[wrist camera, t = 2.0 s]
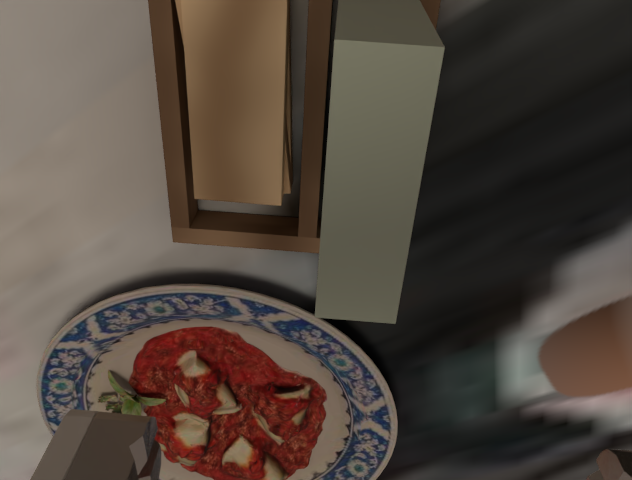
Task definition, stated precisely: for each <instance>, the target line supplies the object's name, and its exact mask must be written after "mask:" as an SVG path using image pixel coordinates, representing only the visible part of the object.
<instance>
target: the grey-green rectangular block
mask: <svg viewBox="0 0 632 480" xmlns="http://www.w3.org/2000/svg"><path fill="white" fill-rule="evenodd" d="M444 49H445V47H444V45H443V43H442V41H441V39H440V37H439V35H438V34H437V32H436V30H435V28H434V26H433V24H432V22H431V21H430V19H429V17H428V15H427V13H426V11H425V9H424V7H423V6H422V4H421V2H420V0H339V1H338V10H337V20H336V29H335V39H334V53H333V67H332V81H331V95H330V109H329V123H328V137H327V151H326V165H325V179H324V193H323V207H322V221H321V235H320V249H319V263H318V277H317V291H316V305H315V318H328V319H341V320H354V321H366V322H379V323H392V324H395V323H396V318H397V312H398V307H399V301H400V295H401V290H402V284H403V279H404V273H405V267H406V262H407V256H408V251H409V245H410V239H411V234H412V228H413V223H414V217H415V211H416V206H417V200H418V195H419V189H420V183H421V178H422V172H423V166H424V161H425V155H426V150H427V144H428V138H429V133H430V127H431V122H432V116H433V110H434V105H435V99H436V94H437V88H438V82H439V77H440V71H441V66H442V60H443V54H444Z"/></svg>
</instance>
